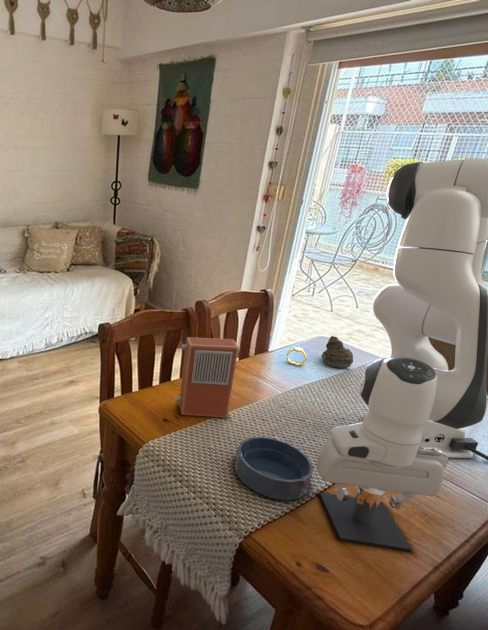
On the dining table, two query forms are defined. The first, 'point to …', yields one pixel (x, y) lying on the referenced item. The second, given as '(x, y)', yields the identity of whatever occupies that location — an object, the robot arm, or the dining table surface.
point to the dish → (273, 468)
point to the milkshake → (366, 503)
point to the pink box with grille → (207, 376)
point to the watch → (297, 351)
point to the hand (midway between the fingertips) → (367, 502)
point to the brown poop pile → (337, 354)
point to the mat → (363, 525)
